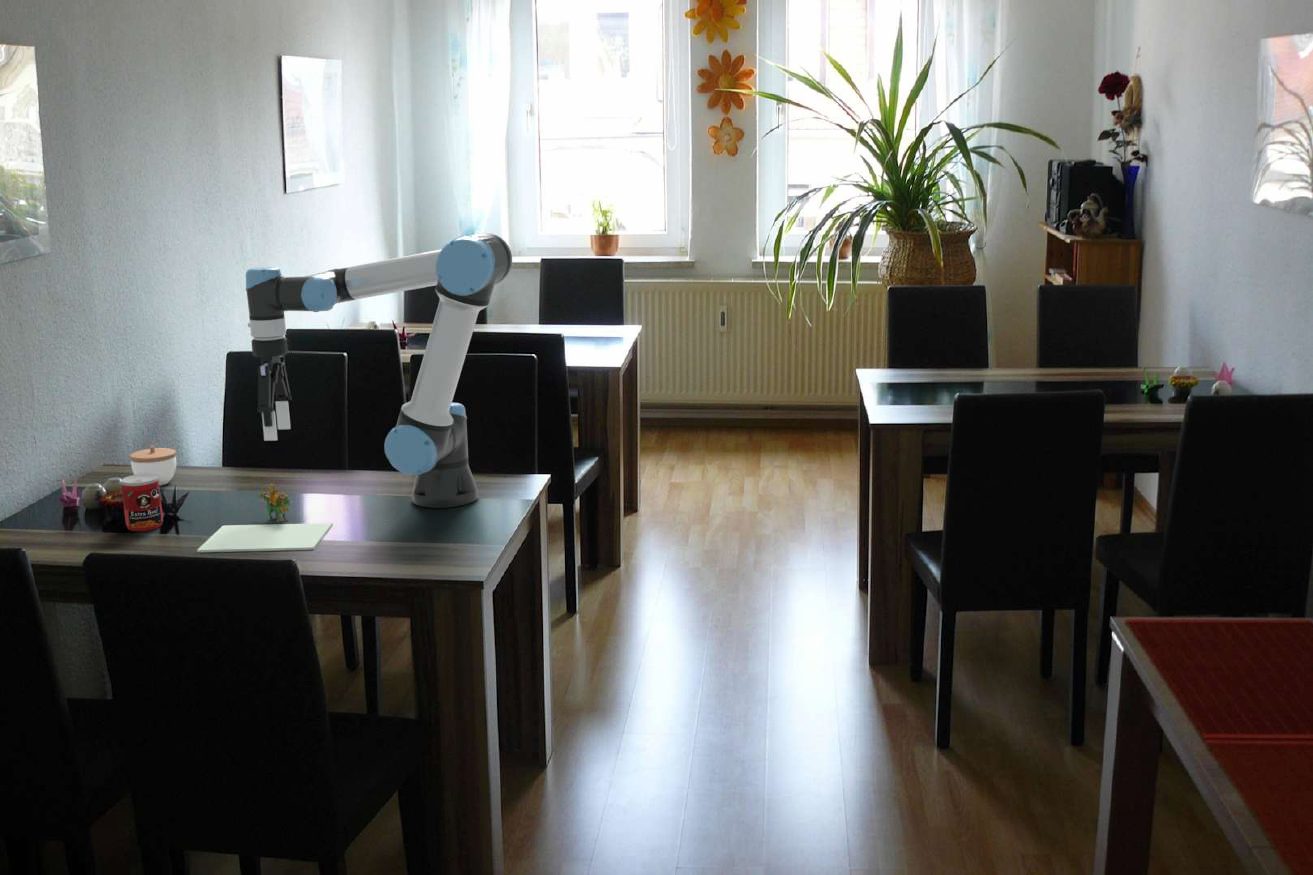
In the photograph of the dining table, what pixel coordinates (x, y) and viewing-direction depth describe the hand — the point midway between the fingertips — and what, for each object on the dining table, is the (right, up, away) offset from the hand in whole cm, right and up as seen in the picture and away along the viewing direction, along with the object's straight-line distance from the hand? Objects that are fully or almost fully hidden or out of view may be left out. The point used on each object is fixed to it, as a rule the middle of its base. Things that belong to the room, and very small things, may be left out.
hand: (277, 434), depth 290 cm
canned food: (-27, -21, -6) cm, 35 cm away
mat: (+3, -22, -17) cm, 28 cm away
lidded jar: (-39, -12, +30) cm, 51 cm away
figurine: (+1, -19, -3) cm, 19 cm away
